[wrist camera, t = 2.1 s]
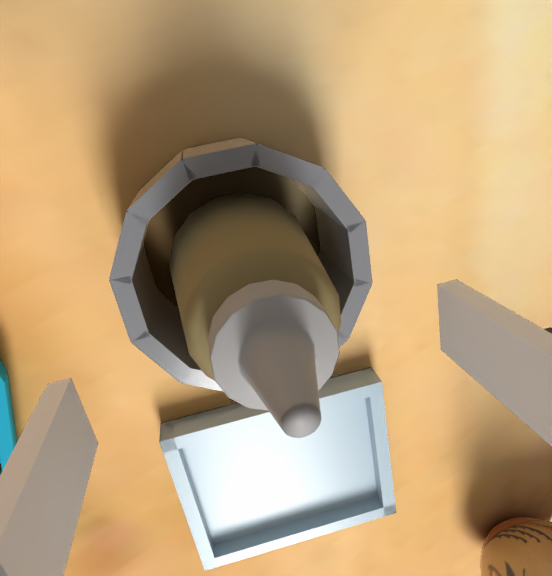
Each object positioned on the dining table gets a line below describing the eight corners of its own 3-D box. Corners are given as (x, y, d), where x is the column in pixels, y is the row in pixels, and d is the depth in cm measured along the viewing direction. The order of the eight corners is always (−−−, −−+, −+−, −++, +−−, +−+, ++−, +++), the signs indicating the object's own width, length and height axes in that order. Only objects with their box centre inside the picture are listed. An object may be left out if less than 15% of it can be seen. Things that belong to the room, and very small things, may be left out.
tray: (371, 367, 34) (381, 381, 32) (386, 494, 39) (396, 512, 37) (160, 423, 33) (159, 441, 31) (204, 548, 37) (204, 570, 36)
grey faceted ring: (318, 121, 27) (355, 122, 21) (344, 313, 32) (380, 358, 26) (100, 166, 26) (74, 180, 20) (162, 359, 31) (156, 417, 25)
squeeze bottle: (149, 211, 27) (92, 356, 11) (274, 164, 28) (405, 234, 11) (200, 323, 30) (217, 569, 14) (312, 279, 31) (458, 468, 14)
